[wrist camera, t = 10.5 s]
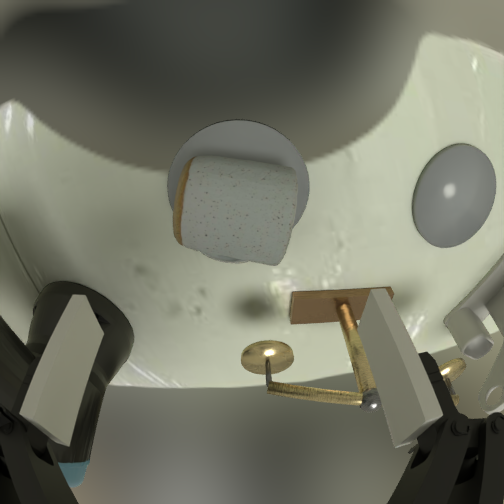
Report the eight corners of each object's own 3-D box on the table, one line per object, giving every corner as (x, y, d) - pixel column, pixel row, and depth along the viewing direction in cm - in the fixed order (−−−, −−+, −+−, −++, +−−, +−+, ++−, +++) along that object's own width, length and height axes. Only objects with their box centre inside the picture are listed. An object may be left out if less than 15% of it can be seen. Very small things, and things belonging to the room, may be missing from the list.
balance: (242, 320, 34) (242, 451, 21) (240, 289, 31) (240, 434, 18) (415, 309, 34) (462, 409, 21) (428, 280, 32) (486, 385, 18)
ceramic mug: (191, 142, 22) (169, 175, 16) (290, 155, 22) (308, 192, 16) (185, 248, 27) (170, 304, 21) (268, 257, 28) (273, 315, 22)
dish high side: (400, 244, 28) (403, 248, 28) (424, 134, 22) (429, 136, 21) (474, 243, 29) (477, 247, 28) (501, 154, 22) (505, 156, 21)
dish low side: (178, 247, 28) (177, 252, 27) (162, 124, 21) (160, 126, 21) (302, 245, 28) (303, 250, 28) (311, 120, 21) (313, 122, 21)
